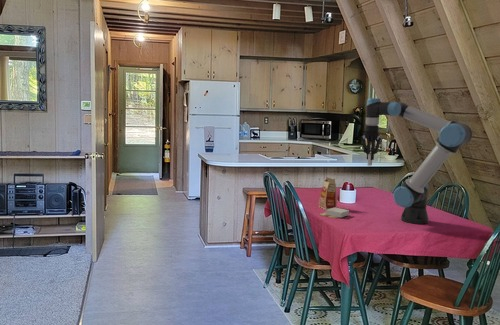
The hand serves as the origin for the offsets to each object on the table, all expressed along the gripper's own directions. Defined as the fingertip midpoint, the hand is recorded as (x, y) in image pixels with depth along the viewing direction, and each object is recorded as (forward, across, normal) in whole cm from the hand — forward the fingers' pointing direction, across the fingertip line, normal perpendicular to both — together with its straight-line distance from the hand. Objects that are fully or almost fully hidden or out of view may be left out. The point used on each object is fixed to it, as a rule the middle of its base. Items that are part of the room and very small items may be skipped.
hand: (369, 165), depth 282 cm
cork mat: (+31, +16, +11) cm, 36 cm away
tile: (+29, +9, +11) cm, 32 cm away
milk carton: (+31, +28, -4) cm, 41 cm away
